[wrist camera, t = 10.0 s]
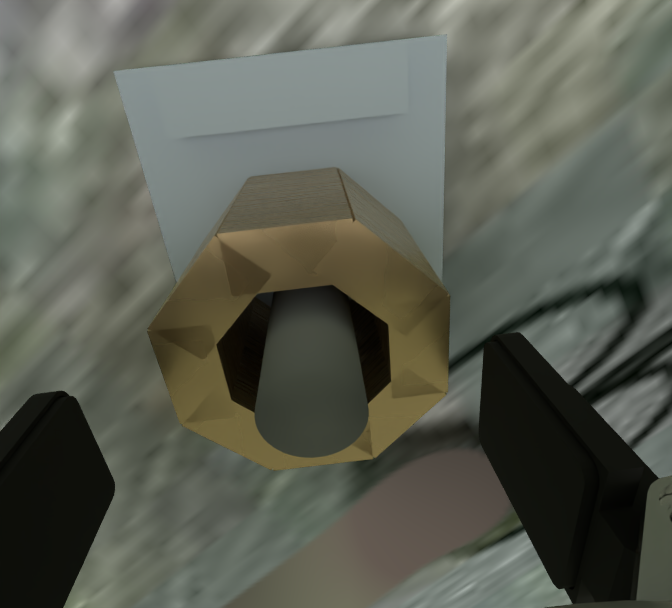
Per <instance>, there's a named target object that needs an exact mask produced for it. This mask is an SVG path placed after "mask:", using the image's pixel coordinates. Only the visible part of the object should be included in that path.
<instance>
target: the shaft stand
mask: <svg viewBox="0 0 672 608" xmlns="http://www.w3.org/2000/svg"><path fill="white" fill-rule="evenodd" d="M446 57H447V34H446V35H437V36H428V37H418V38H409V39H400V40H391V41H382V42H373V43H364V44H355V45H346V46H337V47H328V48H319V49H310V50H300V51H291V52H282V53H273V54H264V55H255V56H246V57H237V58H228V59H219V60H210V61H201V62H192V63H183V64H173V65H164V66H155V67H146V68H137V69H128V70H119V71H113V72H114V75H115V78H116V82H117V85H118V88H119V92H120V95H121V98H122V102H123V105H124V108H125V112H126V115H127V119H128V122H129V125H130V129H131V132H132V135H133V139H134V142H135V145H136V149H137V152H138V155H139V159H140V162H141V166H142V169H143V172H144V176H145V179H146V182H147V186H148V189H149V192H150V196H151V199H152V202H153V206H154V209H155V213H156V216H157V219H158V223H159V226H160V229H161V233H162V236H163V239H164V243H165V246H166V249H167V253H168V256H169V260H170V263H171V266H172V270H173V273H174V276H175V280H176V283H177V282H178V280H179V278H180V277H181V275H182V274H183V272H184V271H185V269H186V267H187V266H188V264H189V263H190V261H191V259H192V258H193V256H194V255H195V253H196V252H197V250H198V248H199V247H200V245H201V244H202V242H203V241H204V239H205V238H206V237H207V235H208V234H209V232H210V231H211V229H212V228H213V227H214V225H215V224H216V222H217V221H218V220H219V218H220V217H221V215H222V214H223V213H224V211H225V210H226V208H227V207H228V205H229V204H230V203H231V201H232V200H233V198H234V197H235V196H236V194H237V193H238V191H239V190H240V189H241V187H242V186H243V184H244V183H245V181H246V180H247V179H248V178H250V177H251V176H260V175H269V174H278V173H286V172H295V171H304V170H312V169H321V168H330V167H336V168H339V169H341V170H342V171H343V172H344V173H345V174H347V175H348V176H349V177H350V178H351V179H353V180H354V181H355V182H356V183H357V184H359V185H360V186H361V187H362V188H363V189H365V190H366V191H367V192H368V193H369V194H371V195H372V196H373V197H374V198H375V199H377V200H378V201H379V202H380V203H381V204H383V205H384V206H385V207H386V208H387V209H389V210H390V211H391V212H392V213H393V214H394V215H396V216H397V217H398V218H399V219H400V220H401V221H402V222H403V224H404V226H405V227H406V229H407V230H408V232H409V233H410V235H411V236H412V238H413V239H414V241H415V242H416V244H417V245H418V247H419V248H420V250H421V252H422V253H423V255H424V256H425V258H426V259H427V261H428V262H429V264H430V265H431V267H432V268H433V270H434V271H435V273H436V274H437V276H438V277H439V279H440V281H441V282H442V270H443V217H444V164H445V111H446ZM255 297H256V298H258V299H259V300H261V301H262V302H264V303H265V304H267V305H268V306H270V307H271V310H270V317H269V323H268V329H267V336H266V342H265V348H264V355H263V361H262V367H261V374H260V380H259V386H258V393H257V399H256V405H255V414H254V418H255V424H256V426H257V429H258V431H259V433H260V435H261V436H262V437H263V439H264V440H265V441H266V442H267V443H268V444H270V445H271V446H272V447H274V448H276V449H277V450H279V451H281V452H283V453H286V454H289V455H292V456H297V457H304V458H315V457H323V456H328V455H332V454H334V453H337V452H340V451H342V450H344V449H345V448H347V447H349V446H350V445H351V444H353V443H354V442H355V441H356V440H357V439H358V438H359V437H360V436H361V434H362V433H363V431H364V429H365V427H366V425H367V422H368V417H369V408H368V403H367V397H366V392H365V386H364V381H363V375H362V370H361V365H360V359H359V354H358V348H357V343H356V338H355V332H354V327H353V321H352V316H351V311H350V305H349V301H350V300H351V299H352V298H351V297H349V296H348V295H346V294H345V293H344V292H342V291H341V290H339V289H338V288H337V287H335V286H334V285H326V286H318V287H309V288H300V289H292V290H283V291H275V292H266V293H258V294H257V295H256V296H255ZM413 425H414V424H413Z"/></svg>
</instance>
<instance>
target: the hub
mask: <svg viewBox="0 0 672 608" xmlns="http://www.w3.org/2000/svg"><path fill="white" fill-rule="evenodd" d="M326 285H334V286H335V287H337V288H338V289H339V290H341V291H342V292H344V293H345V294H346V295H348V296H349V297H351V298H352V299H351V300H350V301H349V305H350V311H351V316H352V321H353V327H354V332H355V338H356V343H357V348H358V354H359V359H360V365H361V370H362V375H363V381H364V386H365V392H366V397H367V403H368V408H369V417H368V422H367V425H366V427H365V429H364V431H363V433H362V434H361V436H360V437H359V438H358V439H357V440H356V441H355V442H354V443H353V444H351V445H350V446H349V447H347V448H345V449H344V450H342V451H340V452H337V453H334V454H332V455H328V456H323V457H315V458H304V457H297V456H292V455H289V454H286V453H283V452H281V451H279V450H277V449H276V448H274V447H272V446H271V445H270V444H268V443H267V442H266V441H265V440H264V439H263V437H262V436H261V435H260V433H259V431H258V429H257V426H256V424H255V418H254V414H255V405H256V399H257V393H258V386H259V380H260V374H261V367H262V361H263V355H264V348H265V342H266V336H267V329H268V323H269V317H270V310H271V307H270V306H268V305H267V304H265V303H264V302H262V301H261V300H259V299H258V298H256V297H255V296H256V295H257V294H258V293H266V292H275V291H283V290H292V289H300V288H309V287H318V286H326ZM449 325H450V295H449V293H448V291H447V290H446V288H445V287H444V285H443V284H442V282H441V281H440V279H439V277H438V276H437V274H436V273H435V271H434V270H433V268H432V267H431V265H430V264H429V262H428V261H427V259H426V258H425V256H424V255H423V253H422V252H421V250H420V248H419V247H418V245H417V244H416V242H415V241H414V239H413V238H412V236H411V235H410V233H409V232H408V230H407V229H406V227H405V226H404V224H403V222H402V221H401V220H400V219H399V218H398V217H397V216H396V215H394V214H393V213H392V212H391V211H390V210H389V209H387V208H386V207H385V206H384V205H383V204H381V203H380V202H379V201H378V200H377V199H375V198H374V197H373V196H372V195H371V194H369V193H368V192H367V191H366V190H365V189H363V188H362V187H361V186H360V185H359V184H357V183H356V182H355V181H354V180H353V179H351V178H350V177H349V176H348V175H347V174H345V173H344V172H343V171H342V170H341V169H339V168H336V167H330V168H321V169H312V170H304V171H295V172H286V173H278V174H269V175H260V176H251V177H250V178H248V179H247V180H246V181H245V183H244V184H243V186H242V187H241V189H240V190H239V191H238V193H237V194H236V196H235V197H234V198H233V200H232V201H231V203H230V204H229V205H228V207H227V208H226V210H225V211H224V213H223V214H222V215H221V217H220V218H219V220H218V221H217V222H216V224H215V225H214V227H213V228H212V229H211V231H210V232H209V234H208V235H207V237H206V238H205V239H204V241H203V242H202V244H201V245H200V247H199V248H198V250H197V252H196V253H195V255H194V256H193V258H192V259H191V261H190V263H189V264H188V266H187V267H186V269H185V271H184V272H183V274H182V275H181V277H180V278H179V280H178V282H177V283H176V285H175V286H174V288H173V289H172V291H171V293H170V294H169V296H168V297H167V299H166V300H165V302H164V304H163V305H162V307H161V308H160V310H159V312H158V313H157V315H156V316H155V318H154V319H153V321H152V323H151V324H150V326H149V327H148V331H147V332H148V335H149V338H150V341H151V344H152V346H153V349H154V352H155V355H156V358H157V360H158V363H159V366H160V369H161V372H162V374H163V377H164V380H165V383H166V386H167V388H168V391H169V394H170V397H171V400H172V402H173V405H174V408H175V411H176V414H177V416H178V419H179V422H180V424H182V426H184V427H186V428H188V429H190V430H192V431H194V432H196V433H198V434H200V435H202V436H204V437H206V438H208V439H210V440H212V441H214V442H216V443H218V444H220V445H222V446H224V447H226V448H228V449H230V450H232V451H234V452H236V453H238V454H240V455H242V456H244V457H246V458H248V459H250V460H252V461H254V462H256V463H258V464H260V465H262V466H264V467H266V468H268V469H270V470H272V469H273V470H274V471H275V470H284V469H292V468H301V467H309V466H317V465H326V464H334V463H343V462H351V461H360V460H368V459H373V457H375V458H376V457H377V456H378V455H379V454H380V453H381V452H382V451H384V450H385V449H386V448H387V447H388V446H389V445H390V444H391V443H393V442H394V441H395V440H396V439H397V438H398V437H399V436H400V435H402V434H403V433H404V432H405V431H406V430H407V429H408V428H409V427H411V426H412V425H413V424H414V423H415V422H416V421H417V420H418V419H420V418H421V417H422V416H423V415H424V414H425V413H426V412H427V411H429V410H430V409H431V408H432V407H433V406H434V405H435V404H436V403H438V402H439V401H440V400H441V399H442V398H443V397H444V396H445V395H447V394H446V392H448V364H449Z"/></svg>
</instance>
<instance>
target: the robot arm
mask: <svg viewBox="0 0 672 608" xmlns="http://www.w3.org/2000/svg"><path fill="white" fill-rule="evenodd" d="M479 438H480V442H481V445H482V448H483V450H484V451H485V453H486V455H487V457H488V459H489V461H490V463H491V465H492V467H493V469H494V471H495V473H496V475H497V476H498V478H499V480H500V482H501V484H502V486H503V488H504V490H505V492H506V494H507V496H508V498H509V500H510V502H511V503H512V505H513V507H514V509H515V511H516V513H517V515H518V517H519V519H520V521H521V523H522V525H523V527H524V528H525V530H526V532H527V534H528V536H529V538H530V540H531V542H532V544H533V546H534V548H535V550H536V552H537V554H538V555H539V557H540V559H541V561H542V563H543V565H544V567H545V569H546V571H547V573H548V575H549V577H550V579H551V580H552V582H553V584H554V585H555V586H556V587H557V588H558V589H563V588H565V590H566V592H567V594H568V596H569V598H570V600H571V602H572V603H573V604H571V605H563V606H554V607H546V608H672V476H667V477H663V478H658V477H657V476H656V475H655V474H654V473H653V472H652V470H651V469H650V468H649V467H648V466H647V465H646V464H645V463H644V462H643V461H642V460H641V459H640V458H639V457H638V455H637V454H636V453H635V452H634V451H633V450H632V449H631V448H630V447H629V446H628V445H627V444H626V443H625V442H624V440H623V439H622V438H621V437H620V436H619V435H618V434H617V433H616V432H615V431H614V430H613V429H612V428H611V427H610V425H609V424H608V423H607V422H606V421H605V420H604V419H603V418H602V417H601V416H600V415H599V414H598V413H597V412H596V410H595V409H594V408H593V407H592V406H591V405H590V404H589V403H588V402H587V401H586V400H585V399H584V398H583V397H582V395H581V394H580V393H579V392H578V391H577V390H576V389H575V388H573V387H572V386H571V385H568V384H567V383H566V381H565V380H564V379H563V378H562V377H561V376H560V375H559V374H558V373H557V372H556V371H555V370H554V368H553V367H552V366H551V365H550V364H549V363H548V362H547V361H546V360H545V359H544V358H543V357H542V355H541V354H540V353H539V352H538V351H537V350H536V349H535V348H534V347H533V346H532V345H531V344H530V342H529V341H528V340H527V339H526V338H525V337H524V336H523V335H522V334H521V333H519V332H516V333H508V334H500V335H494V336H493V337H492V339H491V342H487V343H485V345H484V353H483V369H482V385H481V401H480V417H479ZM114 492H115V482H114V479H113V477H112V475H111V473H110V470H109V468H108V466H107V464H106V462H105V460H104V457H103V455H102V453H101V451H100V449H99V447H98V444H97V442H96V440H95V438H94V436H93V434H92V431H91V429H90V427H89V425H88V423H87V421H86V418H85V416H84V414H83V412H82V410H81V407H80V405H79V403H78V401H77V400H76V398H75V397H73V396H69V395H68V394H67V393H66V392H65V391H56V392H48V393H40V394H35V395H33V396H31V397H30V398H29V399H28V400H27V402H26V403H25V404H24V405H23V406H22V407H21V408H20V410H19V411H18V412H17V413H16V414H15V415H14V416H13V418H12V419H11V420H10V421H9V422H8V423H7V424H6V426H5V427H4V428H3V429H2V430H1V431H0V608H63V607H64V605H65V602H66V600H67V598H68V596H69V594H70V591H71V589H72V587H73V585H74V583H75V580H76V578H77V576H78V574H79V572H80V569H81V567H82V565H83V563H84V561H85V558H86V556H87V554H88V552H89V550H90V547H91V545H92V543H93V541H94V538H95V536H96V534H97V532H98V530H99V527H100V525H101V523H102V521H103V519H104V516H105V514H106V512H107V510H108V508H109V505H110V503H111V501H112V499H113V496H114Z"/></svg>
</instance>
